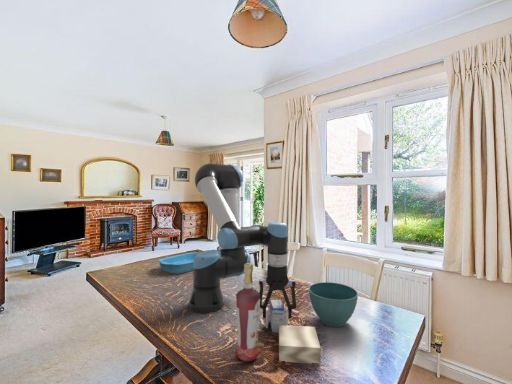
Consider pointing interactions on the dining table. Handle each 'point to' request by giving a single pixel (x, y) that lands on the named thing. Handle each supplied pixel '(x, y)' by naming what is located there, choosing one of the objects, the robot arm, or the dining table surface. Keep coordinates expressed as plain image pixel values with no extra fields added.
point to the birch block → (299, 344)
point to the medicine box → (276, 314)
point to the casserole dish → (178, 263)
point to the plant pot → (333, 302)
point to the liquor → (247, 317)
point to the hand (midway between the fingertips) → (276, 326)
